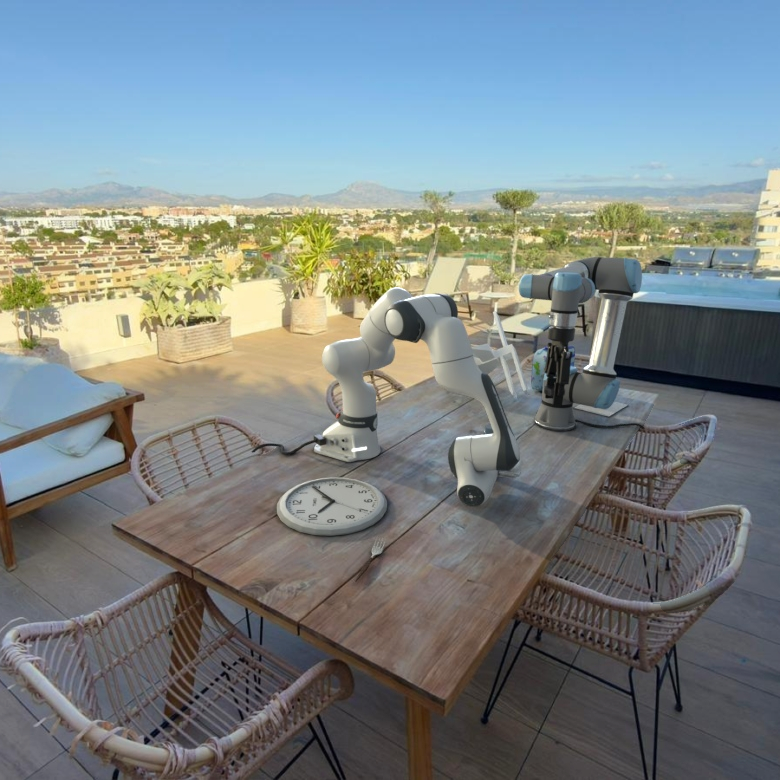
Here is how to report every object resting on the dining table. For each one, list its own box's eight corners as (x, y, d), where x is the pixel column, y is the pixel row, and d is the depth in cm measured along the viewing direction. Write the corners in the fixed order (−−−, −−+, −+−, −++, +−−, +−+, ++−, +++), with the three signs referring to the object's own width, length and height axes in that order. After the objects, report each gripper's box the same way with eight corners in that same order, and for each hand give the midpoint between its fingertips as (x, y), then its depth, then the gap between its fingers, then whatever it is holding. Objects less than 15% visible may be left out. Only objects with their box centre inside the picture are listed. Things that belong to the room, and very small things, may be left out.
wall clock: (392, 527, 129) (268, 531, 127) (391, 533, 130) (269, 537, 127) (383, 473, 158) (282, 475, 155) (383, 478, 158) (282, 480, 156)
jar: (499, 472, 164) (503, 425, 159) (493, 478, 160) (497, 430, 155) (484, 468, 166) (487, 422, 161) (478, 474, 162) (481, 427, 157)
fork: (349, 582, 112) (349, 574, 111) (377, 542, 126) (377, 535, 125) (361, 585, 111) (361, 577, 110) (387, 544, 125) (387, 537, 125)
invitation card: (608, 416, 214) (573, 407, 224) (608, 416, 214) (573, 408, 224) (628, 404, 229) (594, 396, 238) (628, 405, 229) (594, 397, 238)
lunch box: (547, 396, 238) (552, 351, 232) (526, 391, 246) (531, 347, 239) (574, 385, 256) (579, 343, 250) (554, 380, 263) (559, 340, 257)
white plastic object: (461, 429, 252) (437, 405, 227) (444, 352, 274) (420, 323, 250) (535, 404, 240) (518, 377, 215) (510, 326, 262) (492, 293, 237)
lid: (547, 397, 157) (548, 390, 156) (541, 390, 162) (541, 384, 162) (567, 397, 157) (568, 390, 156) (560, 391, 163) (561, 384, 162)
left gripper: (520, 467, 145) (526, 448, 157) (448, 455, 152) (459, 438, 164) (518, 487, 147) (524, 467, 159) (447, 475, 154) (458, 456, 166)
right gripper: (538, 321, 162) (531, 392, 169) (561, 332, 144) (552, 411, 151) (562, 321, 163) (554, 392, 170) (588, 332, 145) (577, 411, 152)
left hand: (490, 452), depth 162 cm, fingers closed on jar, 5 cm apart
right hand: (553, 401), depth 160 cm, fingers closed on lid, 6 cm apart
